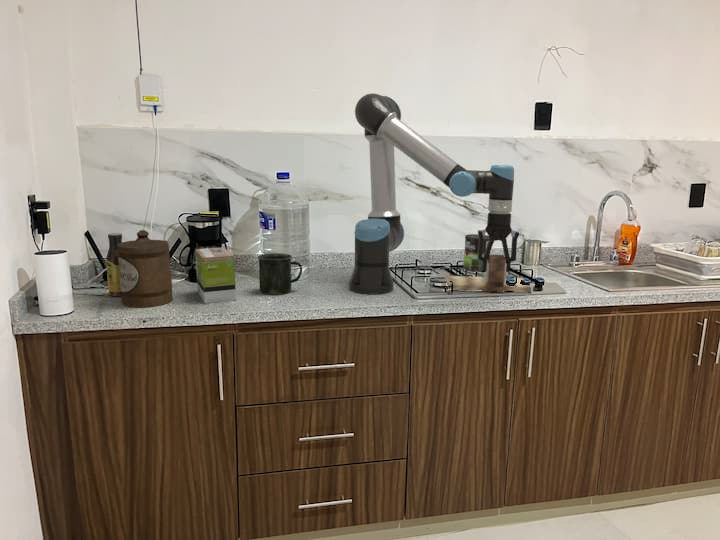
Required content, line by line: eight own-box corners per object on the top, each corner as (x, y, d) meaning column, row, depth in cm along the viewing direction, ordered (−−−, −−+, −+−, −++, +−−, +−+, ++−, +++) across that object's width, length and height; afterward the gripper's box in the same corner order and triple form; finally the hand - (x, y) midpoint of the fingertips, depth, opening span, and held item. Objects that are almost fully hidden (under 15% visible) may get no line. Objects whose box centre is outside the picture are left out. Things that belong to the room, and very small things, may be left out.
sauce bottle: (108, 293, 183) (103, 232, 178) (129, 291, 185) (125, 231, 181) (108, 298, 177) (103, 235, 172) (130, 296, 179) (125, 234, 175)
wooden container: (117, 298, 176) (111, 229, 172) (165, 292, 184) (161, 226, 180) (127, 310, 164) (121, 235, 160) (178, 303, 172) (174, 232, 167)
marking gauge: (488, 292, 190) (490, 257, 187) (482, 283, 202) (484, 250, 199) (503, 292, 189) (505, 257, 187) (496, 283, 202) (499, 250, 199)
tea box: (196, 292, 185) (194, 248, 182) (227, 289, 189) (225, 246, 186) (203, 304, 172) (201, 256, 169) (236, 300, 176) (235, 254, 173)
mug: (258, 287, 192) (258, 253, 190) (301, 287, 195) (301, 252, 192) (257, 296, 182) (256, 259, 179) (303, 295, 184) (302, 258, 182)
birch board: (447, 290, 192) (447, 284, 192) (444, 281, 206) (444, 275, 206) (530, 293, 190) (531, 287, 190) (522, 283, 204) (522, 277, 204)
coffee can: (473, 275, 217) (475, 238, 214) (458, 269, 226) (459, 234, 223) (495, 272, 221) (497, 237, 218) (479, 267, 230) (481, 233, 227)
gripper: (473, 213, 183) (469, 282, 188) (530, 214, 182) (524, 284, 187) (470, 210, 190) (466, 277, 195) (525, 211, 189) (519, 279, 194)
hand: (494, 280), depth 191 cm, fingers closed on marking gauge, 5 cm apart
